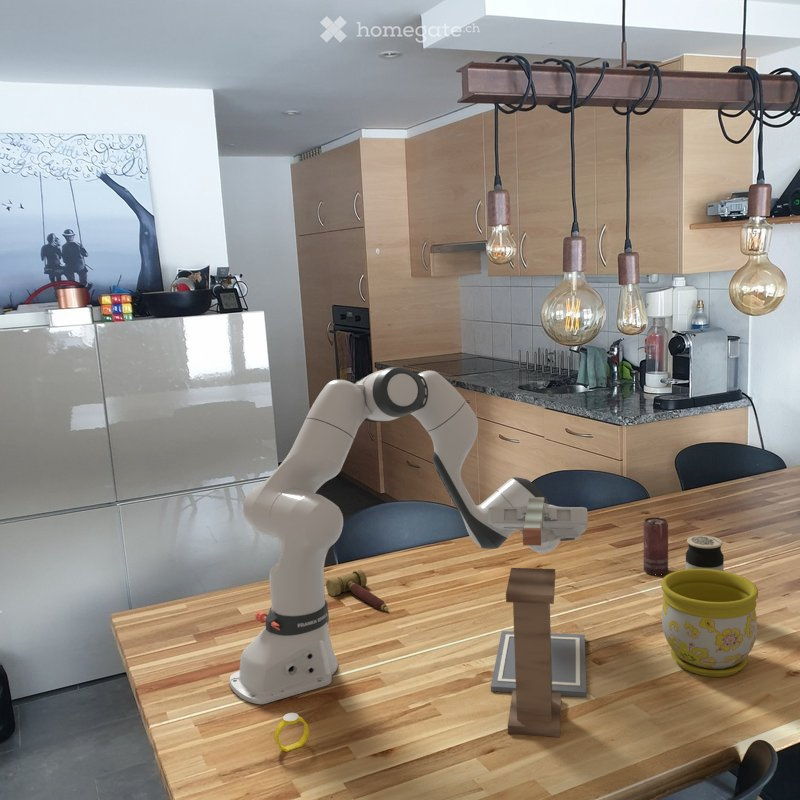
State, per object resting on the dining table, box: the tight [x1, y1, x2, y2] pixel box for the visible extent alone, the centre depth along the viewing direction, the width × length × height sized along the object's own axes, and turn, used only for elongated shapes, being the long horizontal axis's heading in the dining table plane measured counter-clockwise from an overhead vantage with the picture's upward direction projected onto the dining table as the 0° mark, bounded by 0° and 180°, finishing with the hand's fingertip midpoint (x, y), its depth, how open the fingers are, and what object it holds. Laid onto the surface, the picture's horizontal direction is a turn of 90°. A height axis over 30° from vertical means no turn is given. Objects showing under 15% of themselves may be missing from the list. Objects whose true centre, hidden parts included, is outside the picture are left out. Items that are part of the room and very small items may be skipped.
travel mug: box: [685, 535, 725, 571], centre depth 180 cm, size 8×8×18 cm
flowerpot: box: [660, 568, 759, 678], centre depth 160 cm, size 18×18×16 cm
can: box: [643, 517, 669, 576], centre depth 207 cm, size 6×6×14 cm
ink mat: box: [490, 630, 587, 698], centre depth 164 cm, size 24×18×1 cm
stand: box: [505, 567, 562, 738], centre depth 143 cm, size 12×9×26 cm
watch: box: [273, 712, 310, 753], centre depth 139 cm, size 6×3×6 cm, turn 119°
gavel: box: [325, 569, 389, 612], centre depth 201 cm, size 21×5×10 cm
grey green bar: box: [522, 497, 544, 546], centre depth 154 cm, size 20×3×3 cm, turn 168°
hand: (535, 510), depth 158 cm, fingers closed on grey green bar, 3 cm apart
